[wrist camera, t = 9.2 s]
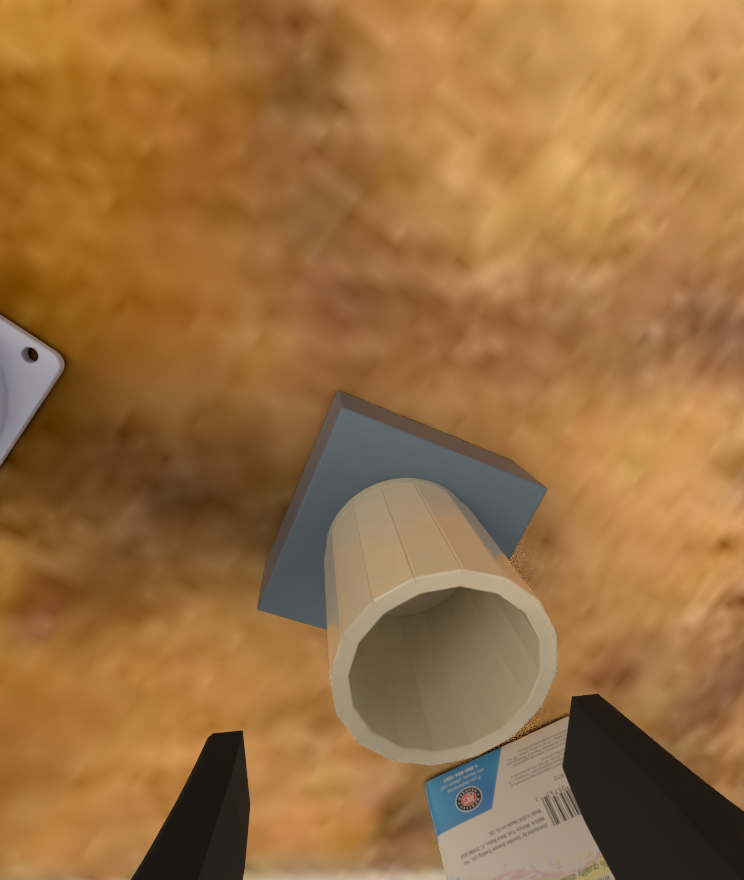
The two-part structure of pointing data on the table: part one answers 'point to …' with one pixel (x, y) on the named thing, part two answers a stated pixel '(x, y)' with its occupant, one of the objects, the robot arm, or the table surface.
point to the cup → (429, 627)
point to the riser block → (373, 461)
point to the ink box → (514, 815)
